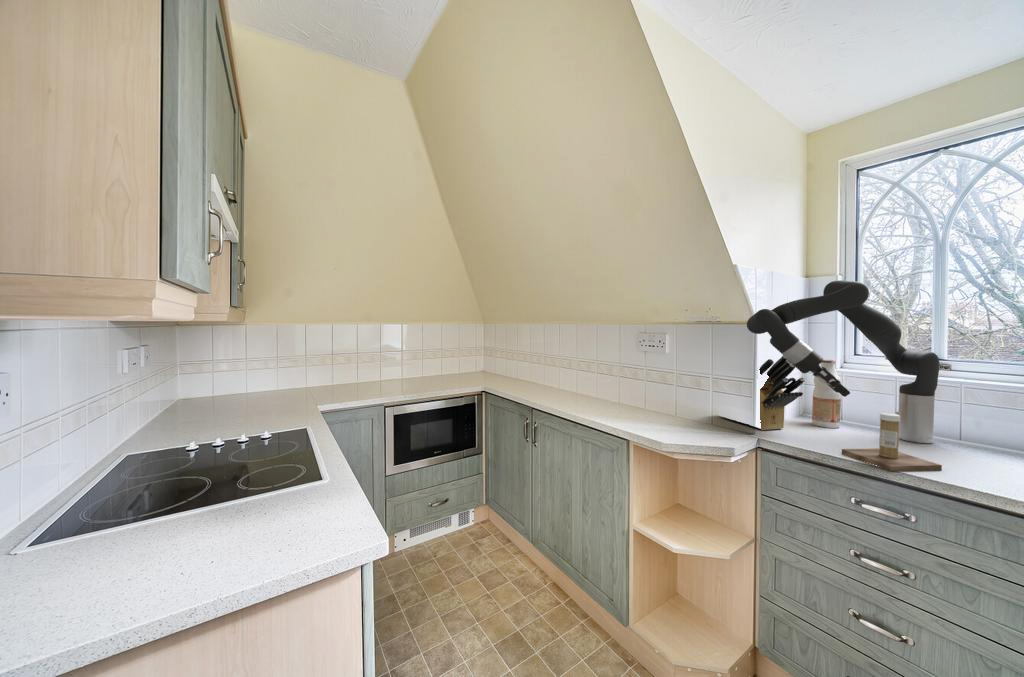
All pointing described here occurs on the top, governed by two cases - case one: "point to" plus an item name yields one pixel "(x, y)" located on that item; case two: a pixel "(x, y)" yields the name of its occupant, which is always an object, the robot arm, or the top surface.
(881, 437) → the sprinkles bottle
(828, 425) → the fruit juice
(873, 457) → the walnut board
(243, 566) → the top surface
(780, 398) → the knife block
